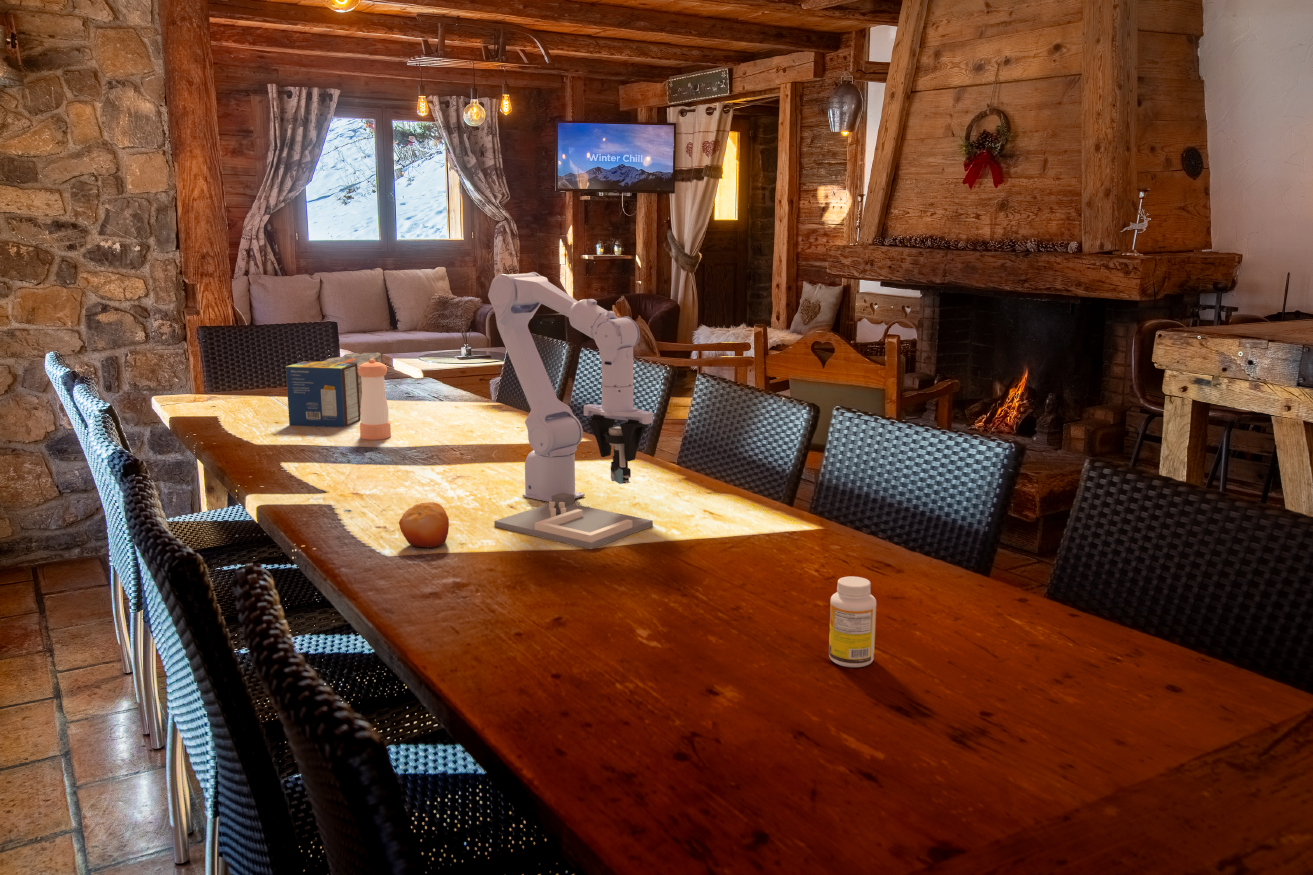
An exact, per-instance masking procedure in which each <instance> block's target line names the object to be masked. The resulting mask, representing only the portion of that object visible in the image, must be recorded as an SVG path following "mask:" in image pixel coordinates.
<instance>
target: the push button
mask: <svg viewBox="0 0 1313 875" xmlns="http://www.w3.org/2000/svg"><path fill="white" fill-rule="evenodd" d="M604 436H605V437H606V442H607V443H609V444H610V445H611V446H612V447H613V449H612V452H613V456H612V461H610V479H611V481H612V482H613V483H614V482H616V483H617V484H619V485H622V484H623V485H624V484H630V483H631V481H630V478H631V473H632V472H631V471H632V470H631V467H629V461H625V454H624V439H623V434H622V430H621V427H620V425H616V426H615V425H614V426H613V427H610V428H609V431H608V432H606V433H604Z"/></svg>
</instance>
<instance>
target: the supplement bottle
mask: <svg viewBox="0 0 1313 875" xmlns="http://www.w3.org/2000/svg"><path fill="white" fill-rule="evenodd" d="M871 584H872V583H871V581H870V580H869V579H867V578H865V577H861V576H854V575H853V576H844V577H840V578H839V579H838V580H837V584H836V585H837V587H836V592H835V593H833V594H832V595H831V597H830V604H829V606H830V607H829V609H830V610H829V632H828V634H829V635H828V636H829V638H828V639H829V640H828V641H829V642H828V643H829V644H828V656H829V659H830V660H831V661H832V662H833V663H834V664H836V665H839V666H841V667H846V668H862V667H866V666H869V665H870V664H872V663H873V661H874V659H875V646H876V645H875V642H876V623H877V622H876V621H877V599H876V598H875V597H874V595H872V593H871V591H872V590H871V586H872V585H871Z"/></svg>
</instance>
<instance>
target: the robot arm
mask: <svg viewBox="0 0 1313 875" xmlns="http://www.w3.org/2000/svg"><path fill="white" fill-rule="evenodd" d="M487 297H488V299H489V302H490V304H491V306H492V310H493V311H494V314H495V320H496V321H495V323H496V328H497V330H498V332H499V335H500V338H501V340H502V342H503V344H504V346H505V349H506V352H507V354H508V357H509V359H510V362H511V364H512V366H513V369H514V371H515V375H516V376H517V379H518V381H519V384H520V387H521V389H522V390H523V394H524V395H525V398H526V401H527V403H528V406H529V409H530V412H529V414H528V415H527V416H526V418H525V420H524V423H525V426H526V430H527V439H528V442H529V446H530V447H531V449H532V450H531V451H530V452H529V453H528V455H527V456H526V459H525V462H524V487H525V488H524V489H525V490H524V492H525V493H522V497H523V498H529V499H534V500H537V501H543V502H548V503H549V502H552V496H553V495H556V494H559V493H567V494H572V495H574V499H575V500H576V499H579V498H582V497H584V496H585V495H586V494H585V493H584V492H580V491H576V460H575V459H576V456H575V455H576V454H575V453H576V451H577V450H578V445H579V444H580V443H581V442H582V439H583V437H584V430H583V426H582V424H581V422H580V420H579V419H578V418H577V417H576V416H575V414H574V413H573V411H572V409H571V406H569V405H568V404H566V403H564V402H562V401H561V400H560V399H558V397H557V395H556V391H555V389H554V387H553V385H552V381H551V380H550V376H549V375H548V373H547V370H546V368H545V365H544V362H543V359H542V357H541V355H540V353H539V351H538V349H537V346H536V343H535V341H534V339H533V336H532V333H531V331H530V329H529V326H528V325H529V323H530V321H531V319H533V318H534V315H535V314H536V312H537V311H538V309H539V308H540V306H541V305H543V306H546V307H548V308H549V309H551V310H554V311H556V312H557V313H560V314H561V315H564V316H565V317H567V318H568V320H569V324H570V326H571V327H572V328H574V329H575V330H577V331H579V332H580V333H583V334H584V335H586V336H587V337H589V338H591V339H593V341H594V342H595V344H596V346H597V348H598V350H599V358H600V360H601V404H592V403H590V404H585V405H584V404H583V416H585V417H589V416H590V417H591V416H592V418H591V419H588V420H587V423H588V426H589V427H590V429H591V430H592V433H593V435H594V436H595V439H596V443H597V446H598V451H599V453H600V457H601V458H605V457H609V456H611V453H612V445H610V444H609V443H607V442H606V437H605V436H604V433H606V432H608V431H609V428H610V427H614V426H615V420H619V421H625V422H624V423H620V425H619V426H620V427H621V430H622V434H623V439H624V454H625V461H628V462H631V461H634V460H636V457H637V452H638V448H639V445H640V442H641V440H642V437H643V435H644V433H645V431H646V429H647V427H648V425H650V424H653V423H654V422H653V420H654V413H653V411H647V410H643V409H639V408H636V407H634V348H635V347H636V346H637V345H638V343H639V341H640V338H641V331H640V328H639V325H638V324H637V322H636V321H635V320H633V319H632V317H630V316H621V317H618V316H617V315H616V312H614V311H613V310H607V309H605V308H604V307H602V306H600V305H598V304H597V303H598V301H597V300H595V299H594V298H588V299H587V298H585V299H581V300H579V301H578V300H577V299H576V298H574V297H572V296H571V295H569V294H568V293H566V292H565V291H563V290H562V289H560V288H559V287H557V286H556V285H554V284H553V283H552V282H550V281H549V279H548V277H546V276H543V275H541V274H539V273H537V272H535V271H532V272H527V273H515V274H514V273H512V274H505V273H500V274H497V275H495V277H494V278H492V281H491V283H490V286H489V291H488V294H487ZM626 421H627V422H626Z"/></svg>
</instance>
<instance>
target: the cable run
mask: <svg viewBox="0 0 1313 875" xmlns="http://www.w3.org/2000/svg"><path fill="white" fill-rule="evenodd" d="M575 500H576V499H574V495H572V494H567V493H559V494H556V495H553V496H552V502H548V504H549V510H551V517H554V516H557V515H560V514H563V513H566V508H565V506H568V505H571V504H575V503H576V502H575ZM560 511H561V512H560Z"/></svg>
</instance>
